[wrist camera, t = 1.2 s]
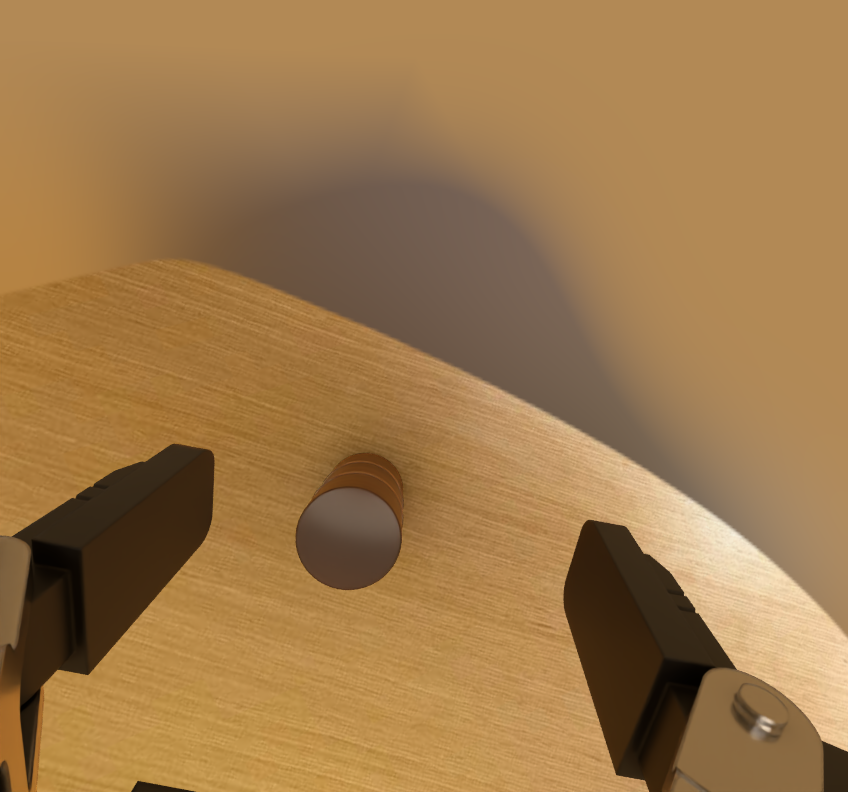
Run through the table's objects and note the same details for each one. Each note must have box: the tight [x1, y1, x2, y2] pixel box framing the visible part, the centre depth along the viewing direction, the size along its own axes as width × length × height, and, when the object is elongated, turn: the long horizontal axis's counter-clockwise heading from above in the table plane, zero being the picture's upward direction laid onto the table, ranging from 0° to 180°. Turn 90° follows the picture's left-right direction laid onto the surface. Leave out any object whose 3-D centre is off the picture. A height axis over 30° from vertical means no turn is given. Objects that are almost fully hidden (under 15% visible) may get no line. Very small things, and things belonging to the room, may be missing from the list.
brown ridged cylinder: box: [296, 453, 404, 590], centre depth 23 cm, size 4×4×8 cm
